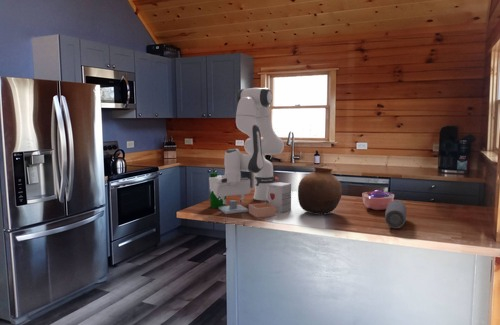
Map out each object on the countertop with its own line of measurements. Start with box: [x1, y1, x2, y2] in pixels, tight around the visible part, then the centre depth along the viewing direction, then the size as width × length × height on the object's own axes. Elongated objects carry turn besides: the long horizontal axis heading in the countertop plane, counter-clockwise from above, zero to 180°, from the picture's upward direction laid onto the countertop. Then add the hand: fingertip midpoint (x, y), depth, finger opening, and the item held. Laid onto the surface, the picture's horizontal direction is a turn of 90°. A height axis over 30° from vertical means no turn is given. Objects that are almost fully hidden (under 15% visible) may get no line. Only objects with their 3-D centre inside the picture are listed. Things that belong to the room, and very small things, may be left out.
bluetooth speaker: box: [384, 199, 407, 229], centre depth 180 cm, size 23×9×10 cm, turn 157°
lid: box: [218, 199, 249, 215], centre depth 211 cm, size 13×13×5 cm
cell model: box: [361, 189, 395, 211], centre depth 210 cm, size 17×20×11 cm
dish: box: [248, 202, 277, 219], centre depth 202 cm, size 11×11×5 cm
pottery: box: [297, 166, 343, 215], centre depth 202 cm, size 23×23×25 cm
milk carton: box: [208, 172, 227, 209], centre depth 220 cm, size 9×9×20 cm
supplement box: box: [268, 181, 292, 214], centre depth 210 cm, size 9×9×15 cm
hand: (233, 203), depth 211 cm, fingers open, 8 cm apart
